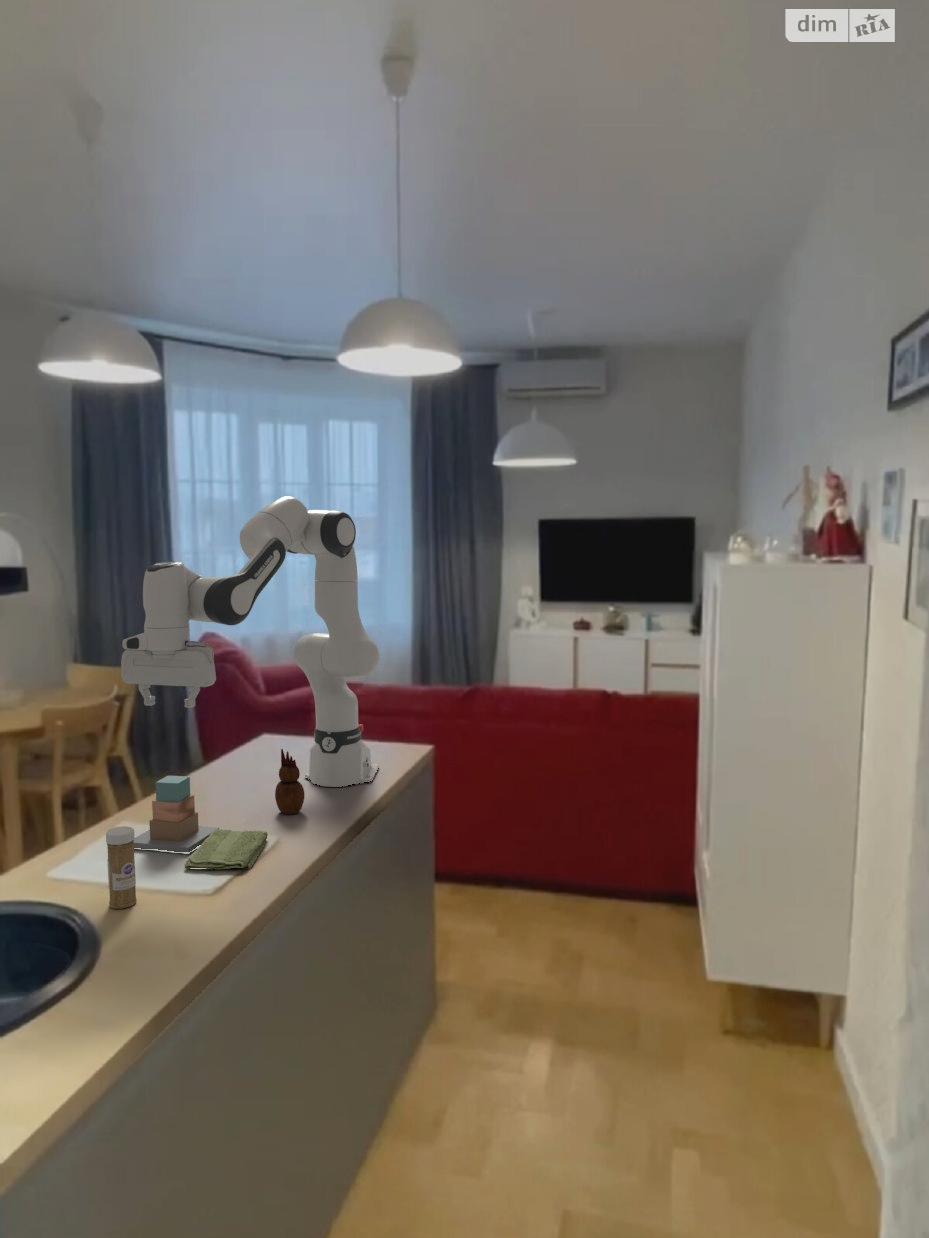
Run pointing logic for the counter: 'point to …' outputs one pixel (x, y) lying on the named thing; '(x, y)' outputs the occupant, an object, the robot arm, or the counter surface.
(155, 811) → the brick
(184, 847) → the baseplate
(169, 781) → the brick
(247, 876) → the counter surface
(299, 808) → the wooden figurine
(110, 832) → the sprinkles bottle
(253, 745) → the counter surface
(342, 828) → the counter surface
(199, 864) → the washcloth
